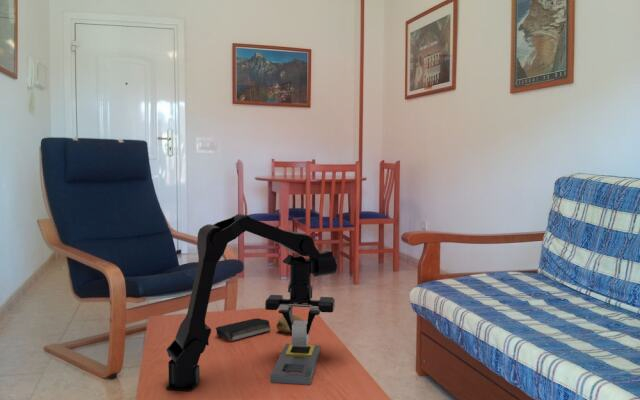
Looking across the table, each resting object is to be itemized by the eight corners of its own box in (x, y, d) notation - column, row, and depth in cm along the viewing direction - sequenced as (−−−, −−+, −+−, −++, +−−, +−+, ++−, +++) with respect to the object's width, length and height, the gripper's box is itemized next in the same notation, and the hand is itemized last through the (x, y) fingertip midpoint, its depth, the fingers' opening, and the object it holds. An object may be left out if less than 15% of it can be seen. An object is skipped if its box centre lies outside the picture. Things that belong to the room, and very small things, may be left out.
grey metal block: (291, 346, 143) (291, 325, 142) (294, 341, 147) (294, 320, 146) (306, 347, 142) (306, 325, 142) (308, 341, 146) (308, 321, 146)
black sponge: (227, 344, 155) (227, 333, 155) (214, 337, 161) (213, 325, 161) (272, 333, 165) (272, 321, 165) (258, 326, 172) (258, 315, 172)
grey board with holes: (270, 382, 129) (270, 373, 129) (285, 350, 150) (285, 342, 150) (310, 384, 128) (310, 375, 128) (320, 352, 149) (320, 344, 149)
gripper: (336, 272, 150) (336, 325, 151) (273, 270, 152) (273, 322, 153) (333, 282, 139) (332, 339, 140) (264, 280, 141) (264, 335, 142)
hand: (300, 333), depth 144 cm, fingers closed on grey metal block, 4 cm apart
